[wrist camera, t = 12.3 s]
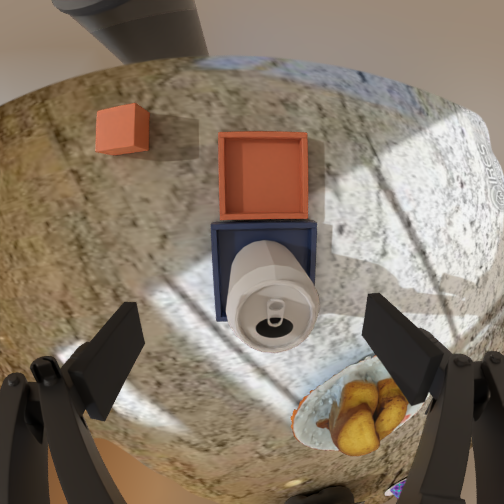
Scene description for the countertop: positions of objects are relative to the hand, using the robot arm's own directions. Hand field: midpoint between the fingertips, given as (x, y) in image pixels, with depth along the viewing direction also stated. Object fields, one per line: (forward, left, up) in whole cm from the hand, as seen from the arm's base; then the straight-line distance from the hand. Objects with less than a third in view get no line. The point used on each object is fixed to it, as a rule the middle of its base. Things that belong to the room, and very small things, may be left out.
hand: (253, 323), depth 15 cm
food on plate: (+26, +19, -17) cm, 36 cm away
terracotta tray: (-8, +2, -17) cm, 19 cm away
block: (-14, -13, -17) cm, 26 cm away
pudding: (+74, +45, -17) cm, 88 cm away
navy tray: (+2, +2, -17) cm, 17 cm away
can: (+2, +2, -17) cm, 17 cm away
